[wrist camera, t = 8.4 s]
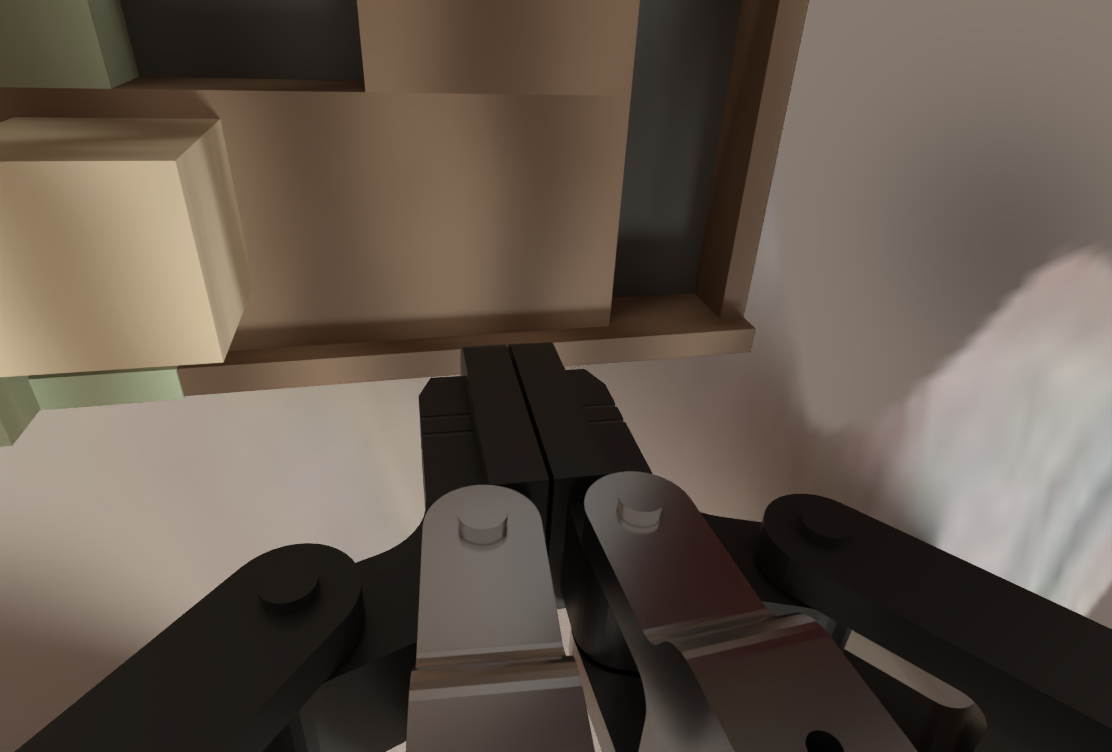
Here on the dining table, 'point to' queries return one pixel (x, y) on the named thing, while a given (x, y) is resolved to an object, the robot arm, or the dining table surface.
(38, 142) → the maple block
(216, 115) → the wooden divided tray
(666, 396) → the dining table surface
